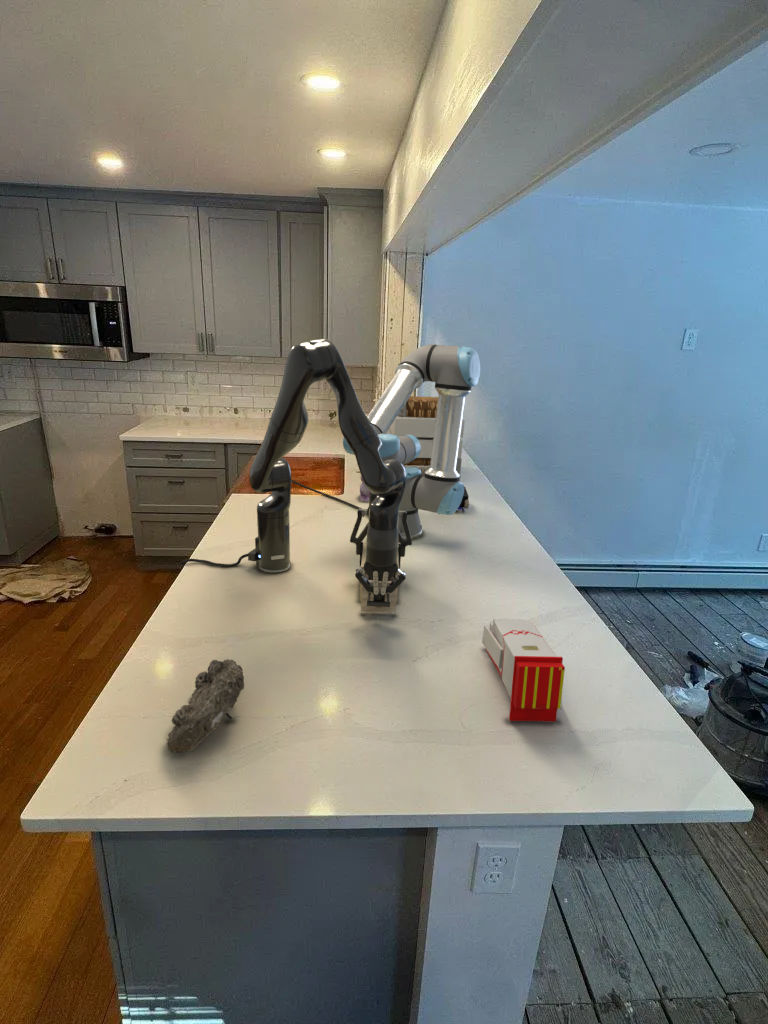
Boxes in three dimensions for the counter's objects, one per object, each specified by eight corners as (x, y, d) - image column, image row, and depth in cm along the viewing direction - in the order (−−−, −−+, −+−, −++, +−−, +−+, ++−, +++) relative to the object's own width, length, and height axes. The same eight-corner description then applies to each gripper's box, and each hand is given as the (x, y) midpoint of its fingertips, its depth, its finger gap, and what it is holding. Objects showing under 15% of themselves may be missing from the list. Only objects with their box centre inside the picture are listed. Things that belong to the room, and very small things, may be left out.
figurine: (363, 503, 228) (365, 467, 223) (353, 496, 237) (354, 461, 232) (384, 501, 233) (386, 465, 227) (373, 493, 241) (374, 459, 236)
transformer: (382, 463, 289) (386, 382, 275) (445, 464, 293) (451, 384, 279) (390, 482, 257) (394, 392, 243) (460, 483, 261) (468, 394, 247)
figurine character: (469, 517, 223) (463, 501, 236) (471, 500, 219) (465, 484, 233) (452, 516, 222) (447, 500, 236) (454, 499, 219) (449, 483, 232)
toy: (529, 604, 135) (573, 663, 106) (524, 656, 138) (566, 727, 109) (478, 603, 135) (509, 662, 105) (474, 655, 137) (503, 727, 108)
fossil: (192, 660, 117) (244, 628, 112) (224, 691, 120) (276, 661, 115) (142, 746, 98) (202, 712, 93) (182, 779, 101) (242, 748, 96)
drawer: (395, 624, 141) (397, 594, 138) (359, 622, 141) (360, 592, 138) (394, 585, 160) (396, 558, 157) (363, 584, 160) (364, 556, 157)
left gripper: (353, 547, 132) (351, 612, 138) (410, 550, 132) (405, 615, 138) (355, 535, 139) (353, 597, 145) (409, 537, 139) (404, 599, 145)
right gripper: (340, 494, 151) (339, 569, 158) (425, 497, 151) (420, 573, 159) (342, 485, 158) (341, 558, 166) (423, 489, 158) (418, 561, 166)
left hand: (378, 605), depth 142 cm, fingers closed
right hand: (379, 565), depth 162 cm, fingers closed on cabinet, 10 cm apart
